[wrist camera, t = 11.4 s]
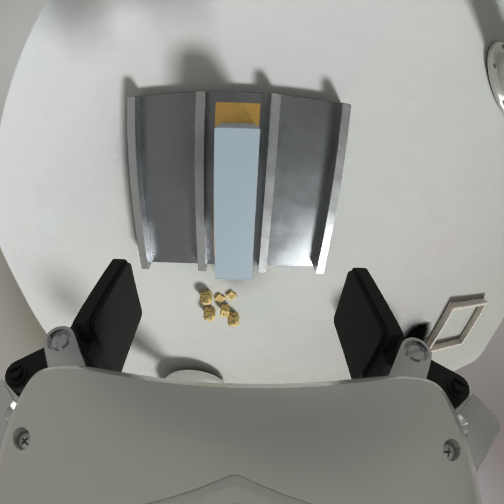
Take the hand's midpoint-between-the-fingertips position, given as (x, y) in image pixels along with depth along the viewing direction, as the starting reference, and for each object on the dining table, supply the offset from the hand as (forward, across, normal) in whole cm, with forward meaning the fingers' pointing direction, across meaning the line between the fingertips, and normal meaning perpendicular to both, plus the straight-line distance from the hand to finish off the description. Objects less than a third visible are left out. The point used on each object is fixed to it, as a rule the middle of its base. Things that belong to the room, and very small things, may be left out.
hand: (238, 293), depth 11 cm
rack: (+18, +1, 0) cm, 18 cm away
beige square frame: (+18, -42, +24) cm, 52 cm away
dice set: (+18, +2, +16) cm, 25 cm away
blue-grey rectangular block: (+16, +1, 0) cm, 17 cm away
